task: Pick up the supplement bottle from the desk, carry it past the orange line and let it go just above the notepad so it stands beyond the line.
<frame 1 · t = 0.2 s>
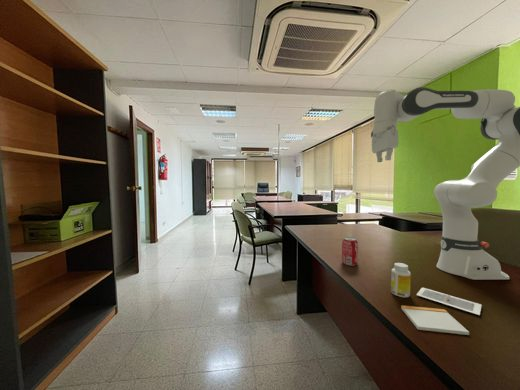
hand: (383, 161, 97), 47 cm above the table, fingers open, 8 cm apart
supplement bottle: (400, 294, 75), on the table
soda can: (349, 264, 102), on the table
touchpad: (447, 303, 70), on the table
notepad: (431, 320, 60), on the table
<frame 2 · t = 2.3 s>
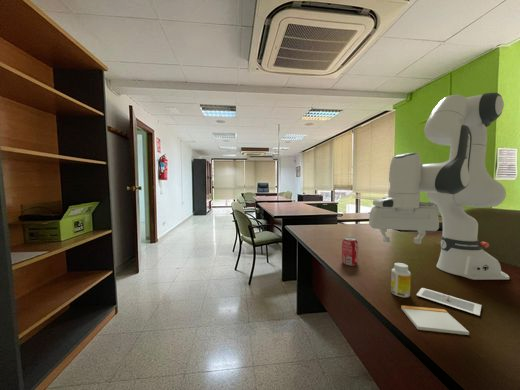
hand: (401, 242, 74), 18 cm above the table, fingers open, 8 cm apart
nothing on the table moved.
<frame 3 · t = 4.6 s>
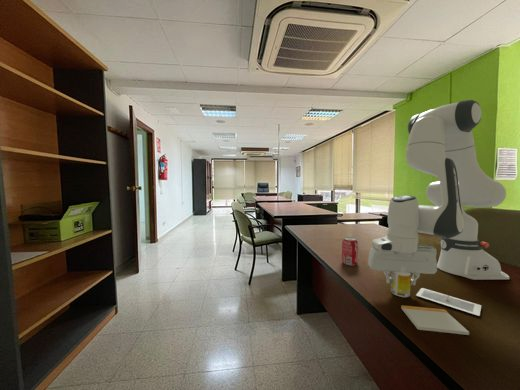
hand: (400, 283, 75), 4 cm above the table, fingers closed on supplement bottle, 6 cm apart
supplement bottle: (400, 294, 75), on the table, touching gripper
everything else where it was.
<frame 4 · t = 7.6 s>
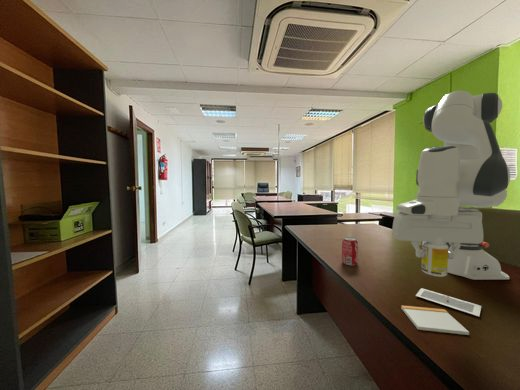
hand: (434, 257, 59), 18 cm above the table, fingers closed on supplement bottle, 6 cm apart
supplement bottle: (433, 273, 59), point 13 cm above the table, touching gripper
everything else where it was.
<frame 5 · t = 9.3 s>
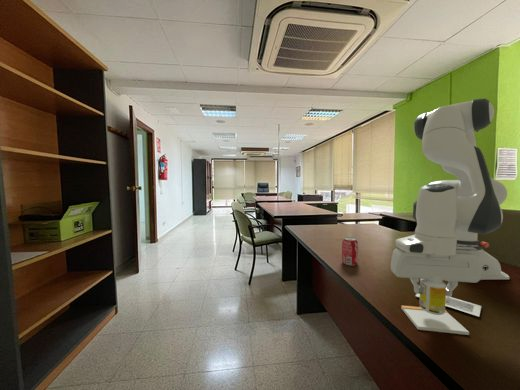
hand: (432, 294, 60), 8 cm above the table, fingers closed on supplement bottle, 5 cm apart
supplement bottle: (431, 310, 60), point 3 cm above the table, touching gripper
when the fingers open (6 cm above the table, at t = 10.6 s): supplement bottle stays where it is, resting on notepad.
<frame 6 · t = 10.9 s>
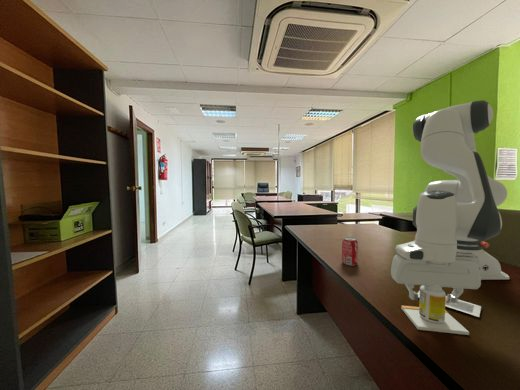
hand: (432, 300, 60), 6 cm above the table, fingers open, 8 cm apart
supplement bottle: (431, 318, 60), point 1 cm above the table, touching notepad
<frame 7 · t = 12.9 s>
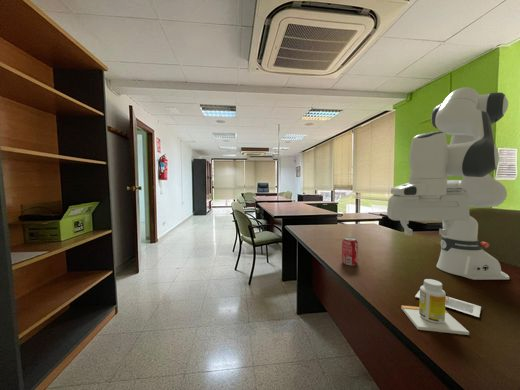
hand: (425, 235, 65), 23 cm above the table, fingers open, 8 cm apart
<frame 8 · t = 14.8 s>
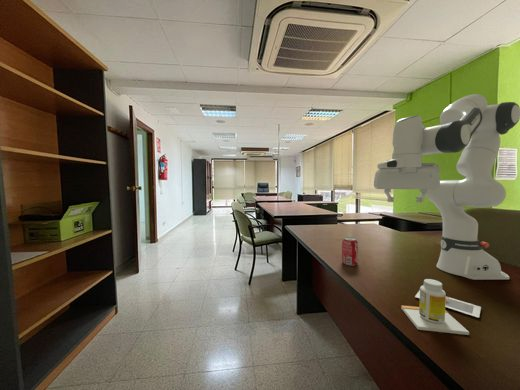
hand: (404, 202, 78), 31 cm above the table, fingers open, 8 cm apart
at the end: supplement bottle inside the target area on the notepad (1.5 cm from its centre), point 0.6 cm above the notepad's base; supplement bottle tilted 0°; the gripper is holding nothing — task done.
